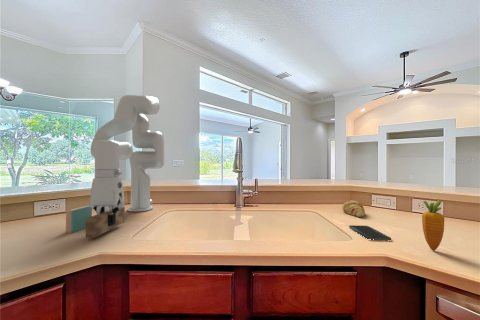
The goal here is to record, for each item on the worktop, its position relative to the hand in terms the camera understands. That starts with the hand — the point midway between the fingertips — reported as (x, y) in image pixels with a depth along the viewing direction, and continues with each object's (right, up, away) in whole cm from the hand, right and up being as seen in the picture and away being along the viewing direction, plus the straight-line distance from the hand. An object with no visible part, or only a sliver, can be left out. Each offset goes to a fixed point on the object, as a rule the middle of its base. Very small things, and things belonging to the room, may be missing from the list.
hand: (107, 224), depth 79 cm
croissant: (+106, -5, +34) cm, 112 cm away
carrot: (+105, -4, -14) cm, 106 cm away
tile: (-14, -3, +4) cm, 15 cm away
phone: (+95, -4, +1) cm, 95 cm away
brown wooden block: (0, -2, 0) cm, 2 cm away
